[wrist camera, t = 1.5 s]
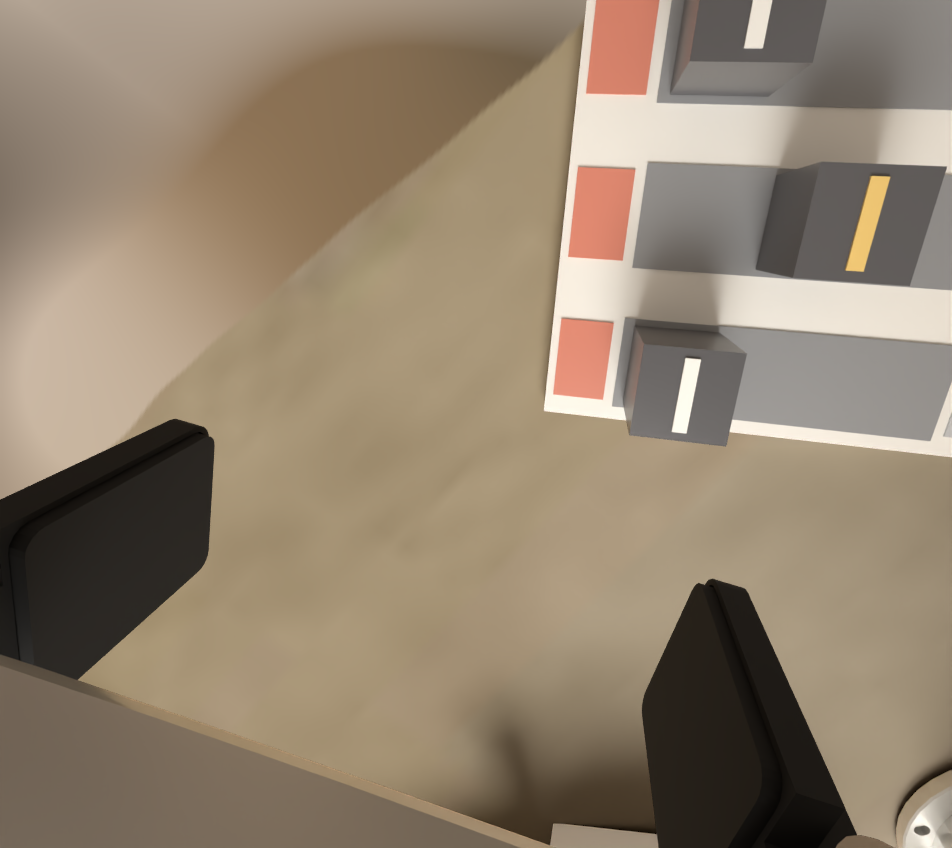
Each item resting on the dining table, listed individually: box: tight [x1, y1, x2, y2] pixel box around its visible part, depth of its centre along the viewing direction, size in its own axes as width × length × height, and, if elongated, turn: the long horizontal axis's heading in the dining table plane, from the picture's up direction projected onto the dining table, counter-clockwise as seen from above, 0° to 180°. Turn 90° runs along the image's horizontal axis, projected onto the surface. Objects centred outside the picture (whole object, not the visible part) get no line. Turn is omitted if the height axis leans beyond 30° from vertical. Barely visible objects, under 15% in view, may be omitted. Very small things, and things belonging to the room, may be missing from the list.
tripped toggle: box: [756, 162, 947, 286], centre depth 22 cm, size 4×4×5 cm
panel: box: [544, 0, 952, 457], centre depth 23 cm, size 22×20×6 cm
